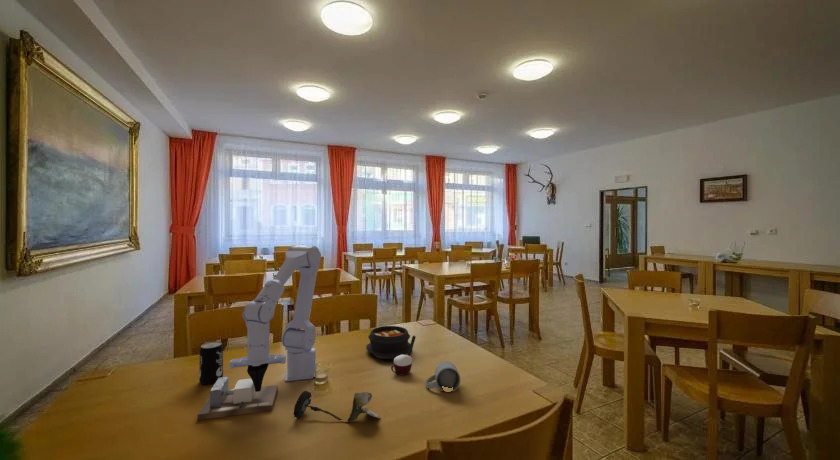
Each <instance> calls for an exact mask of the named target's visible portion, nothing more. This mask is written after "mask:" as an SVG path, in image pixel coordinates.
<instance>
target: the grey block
mask: <svg viewBox="0 0 840 460" xmlns="http://www.w3.org/2000/svg"><path fill="white" fill-rule="evenodd" d="M226 390H229V376H223V377H222V378H218V380H217V381H216V383H215V384H213V386H212V387H211V389H210V390H209V396H210V409H217V408H221V406H222V404H223V403H224V401H225V399H226V397H227V395H226Z"/></svg>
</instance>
